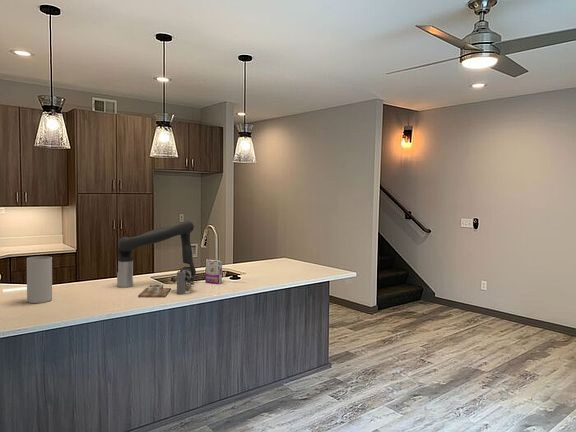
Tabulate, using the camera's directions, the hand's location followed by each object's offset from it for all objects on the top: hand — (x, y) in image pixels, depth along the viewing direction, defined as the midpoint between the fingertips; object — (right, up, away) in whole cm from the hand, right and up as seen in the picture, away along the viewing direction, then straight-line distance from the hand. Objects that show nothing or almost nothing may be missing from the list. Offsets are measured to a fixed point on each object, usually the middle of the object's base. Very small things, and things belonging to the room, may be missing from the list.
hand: (181, 281), depth 269 cm
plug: (0, -8, +1) cm, 8 cm away
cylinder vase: (-75, -8, -25) cm, 80 cm away
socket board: (-16, -8, 0) cm, 18 cm away
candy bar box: (+15, -7, +35) cm, 38 cm away
